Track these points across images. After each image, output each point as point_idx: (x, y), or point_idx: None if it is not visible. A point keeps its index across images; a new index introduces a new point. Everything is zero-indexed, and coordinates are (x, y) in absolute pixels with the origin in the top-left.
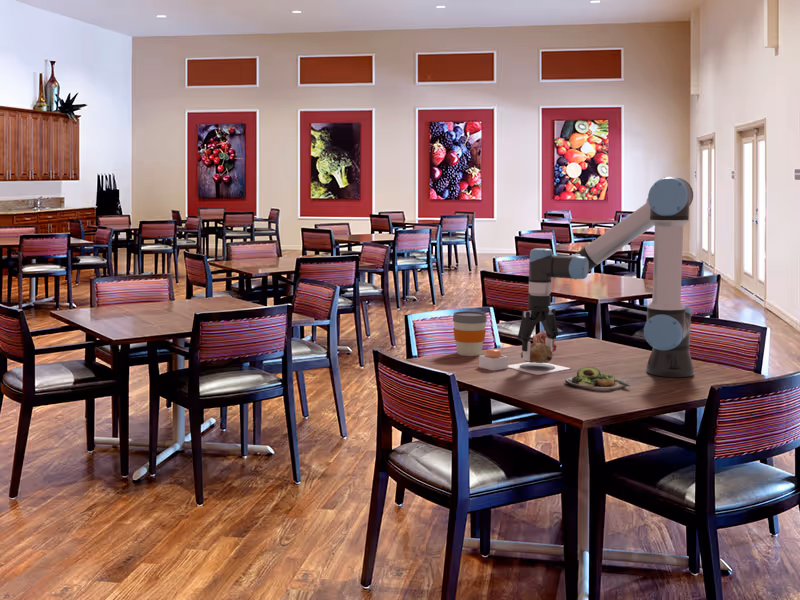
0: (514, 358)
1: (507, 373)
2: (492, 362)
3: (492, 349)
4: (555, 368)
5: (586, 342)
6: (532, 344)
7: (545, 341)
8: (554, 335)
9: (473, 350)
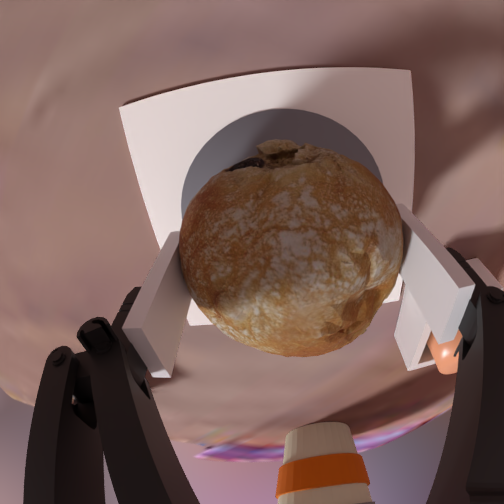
0: (243, 381)
1: (482, 188)
2: (494, 280)
3: (453, 367)
4: (206, 137)
5: (6, 381)
6: (340, 329)
7: (176, 352)
8: (85, 362)
9: (334, 434)
